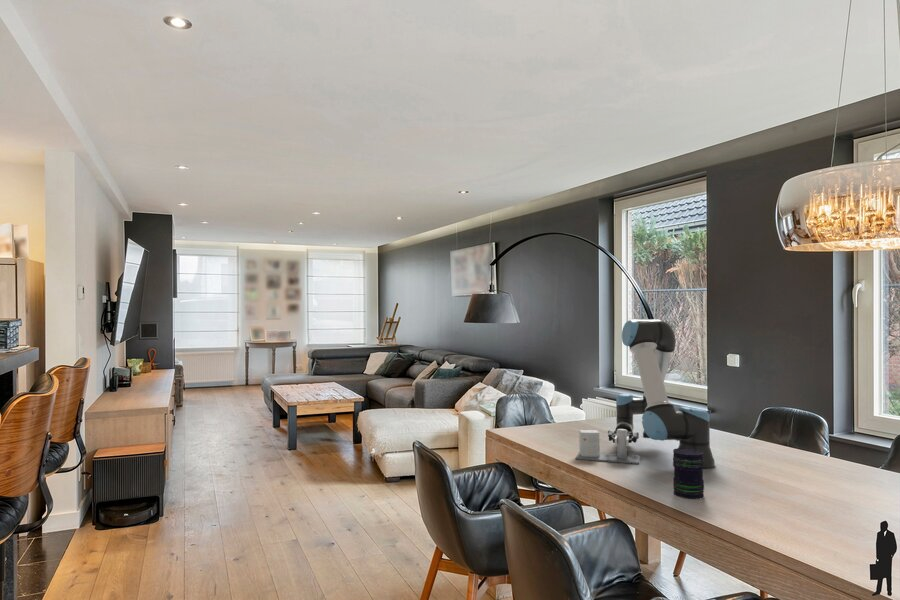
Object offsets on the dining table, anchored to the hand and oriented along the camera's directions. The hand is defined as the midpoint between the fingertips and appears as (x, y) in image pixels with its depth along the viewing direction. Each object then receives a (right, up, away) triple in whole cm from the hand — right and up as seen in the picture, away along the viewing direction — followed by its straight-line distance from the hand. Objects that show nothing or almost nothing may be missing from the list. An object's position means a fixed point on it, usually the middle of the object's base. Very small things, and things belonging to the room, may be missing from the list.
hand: (621, 442), depth 243 cm
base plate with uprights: (-4, -9, +7) cm, 12 cm away
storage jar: (+10, -8, -43) cm, 45 cm away
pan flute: (+42, -11, +57) cm, 71 cm away
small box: (-11, -8, +9) cm, 17 cm away
